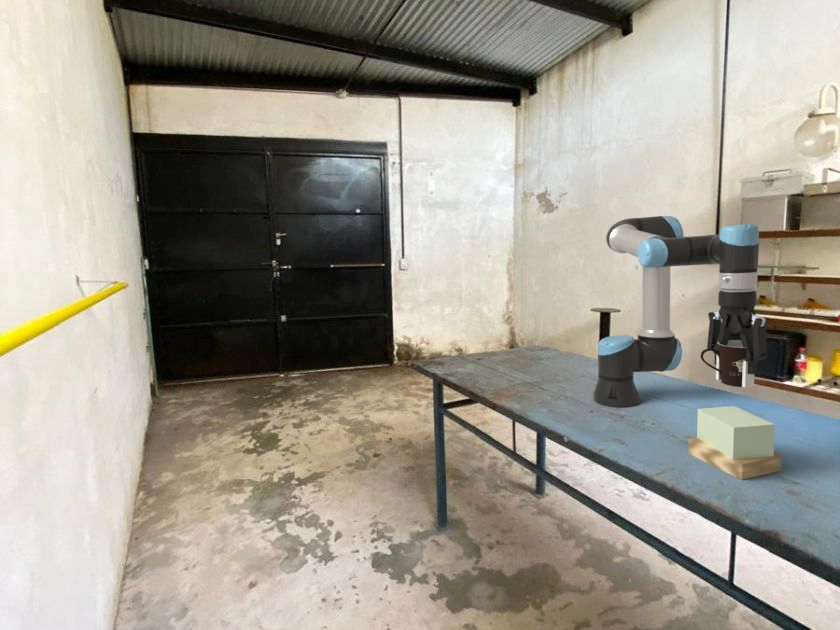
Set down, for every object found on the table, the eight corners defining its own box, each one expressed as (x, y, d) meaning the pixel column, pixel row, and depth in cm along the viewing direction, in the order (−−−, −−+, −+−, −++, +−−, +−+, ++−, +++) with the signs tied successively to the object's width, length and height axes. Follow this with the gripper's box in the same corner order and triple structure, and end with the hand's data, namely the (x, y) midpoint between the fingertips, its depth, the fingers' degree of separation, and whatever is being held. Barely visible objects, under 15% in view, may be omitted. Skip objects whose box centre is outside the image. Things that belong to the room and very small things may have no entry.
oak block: (688, 453, 120) (688, 439, 119) (724, 446, 123) (724, 432, 122) (741, 479, 105) (742, 463, 105) (780, 470, 108) (781, 455, 108)
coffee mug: (760, 381, 112) (762, 341, 110) (756, 390, 105) (758, 349, 104) (706, 374, 119) (707, 338, 118) (699, 383, 113) (699, 344, 112)
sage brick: (697, 437, 120) (697, 408, 119) (733, 434, 120) (734, 406, 119) (732, 459, 107) (733, 427, 106) (773, 456, 107) (774, 424, 106)
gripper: (691, 288, 116) (689, 375, 119) (765, 294, 98) (760, 396, 101) (714, 286, 118) (712, 371, 121) (791, 291, 100) (786, 391, 103)
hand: (734, 382), depth 111 cm, fingers closed on coffee mug, 6 cm apart
